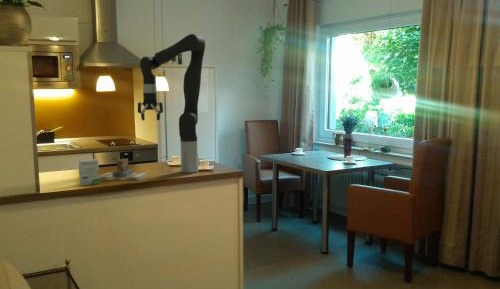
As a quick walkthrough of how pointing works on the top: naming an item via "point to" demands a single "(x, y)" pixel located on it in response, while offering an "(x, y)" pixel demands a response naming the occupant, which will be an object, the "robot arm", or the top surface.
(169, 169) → the top surface
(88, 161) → the ink box
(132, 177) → the birch board
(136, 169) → the top surface
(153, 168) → the top surface
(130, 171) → the sanding block
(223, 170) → the top surface
